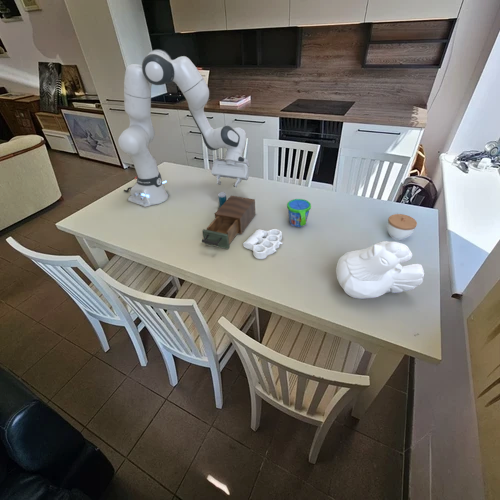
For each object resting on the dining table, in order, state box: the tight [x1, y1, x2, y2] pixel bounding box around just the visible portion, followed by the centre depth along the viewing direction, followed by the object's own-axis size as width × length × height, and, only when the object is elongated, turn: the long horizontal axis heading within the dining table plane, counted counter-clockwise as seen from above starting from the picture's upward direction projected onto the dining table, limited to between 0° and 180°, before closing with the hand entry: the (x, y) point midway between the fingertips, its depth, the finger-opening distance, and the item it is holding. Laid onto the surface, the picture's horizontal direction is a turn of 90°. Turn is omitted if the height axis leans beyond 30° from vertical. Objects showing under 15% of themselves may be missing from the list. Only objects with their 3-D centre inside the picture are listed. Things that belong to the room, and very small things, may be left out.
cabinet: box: [214, 195, 256, 235], centre depth 132 cm, size 18×13×9 cm
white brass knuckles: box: [242, 228, 284, 260], centre depth 118 cm, size 3×18×15 cm
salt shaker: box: [217, 191, 227, 208], centre depth 143 cm, size 4×4×8 cm
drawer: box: [201, 216, 239, 250], centre depth 121 cm, size 21×11×7 cm, turn 158°
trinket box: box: [386, 213, 418, 241], centre depth 117 cm, size 11×11×9 cm
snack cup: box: [286, 198, 312, 228], centre depth 128 cm, size 16×10×10 cm
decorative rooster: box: [335, 240, 425, 300], centre depth 88 cm, size 25×16×25 cm
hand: (226, 185), depth 143 cm, fingers open, 8 cm apart
